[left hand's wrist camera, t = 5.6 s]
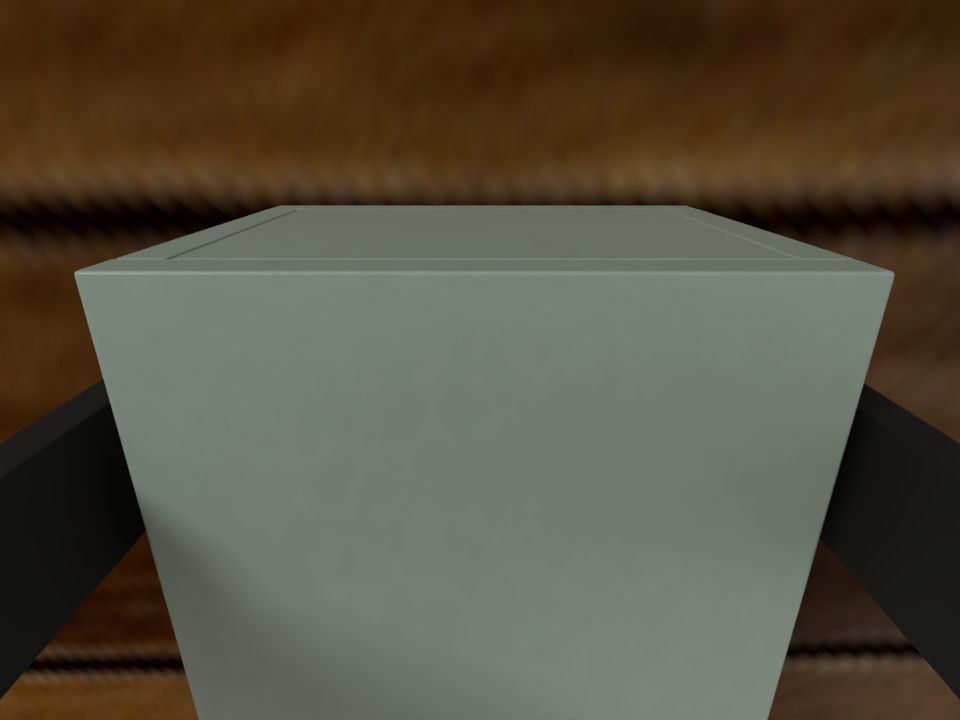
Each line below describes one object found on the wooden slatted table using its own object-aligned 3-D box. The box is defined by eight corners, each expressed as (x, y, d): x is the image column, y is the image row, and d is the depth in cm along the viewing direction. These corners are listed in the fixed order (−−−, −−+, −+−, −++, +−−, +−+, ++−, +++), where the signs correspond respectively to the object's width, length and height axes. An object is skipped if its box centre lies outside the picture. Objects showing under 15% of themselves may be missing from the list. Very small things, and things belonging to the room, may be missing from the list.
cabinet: (623, 678, 21) (698, 965, 14) (341, 677, 21) (265, 963, 14) (687, 205, 15) (897, 272, 7) (277, 204, 15) (71, 271, 7)
